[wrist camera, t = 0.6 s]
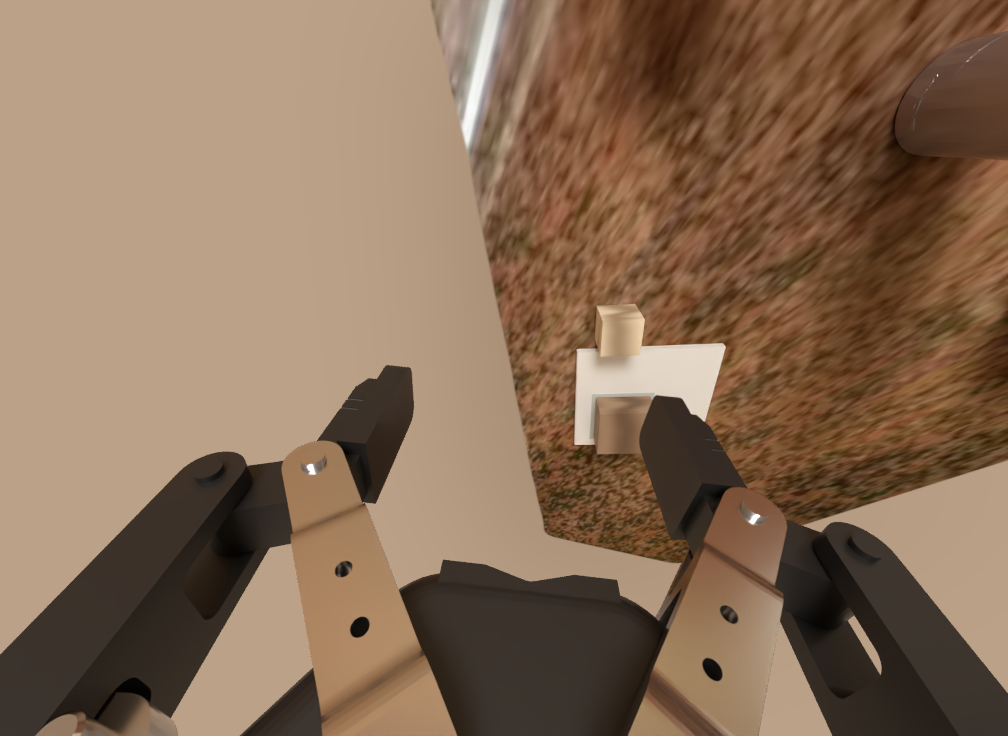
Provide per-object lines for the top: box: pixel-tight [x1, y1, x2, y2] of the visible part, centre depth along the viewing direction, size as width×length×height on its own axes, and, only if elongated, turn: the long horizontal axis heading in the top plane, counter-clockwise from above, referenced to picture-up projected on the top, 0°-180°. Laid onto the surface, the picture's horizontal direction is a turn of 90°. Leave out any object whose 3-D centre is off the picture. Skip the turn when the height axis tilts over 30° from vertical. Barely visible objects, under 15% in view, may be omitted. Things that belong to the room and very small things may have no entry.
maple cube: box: [595, 304, 645, 357], centre depth 48 cm, size 5×5×5 cm
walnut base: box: [593, 396, 652, 454], centre depth 55 cm, size 8×8×4 cm
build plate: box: [574, 343, 726, 445], centre depth 56 cm, size 20×18×1 cm
